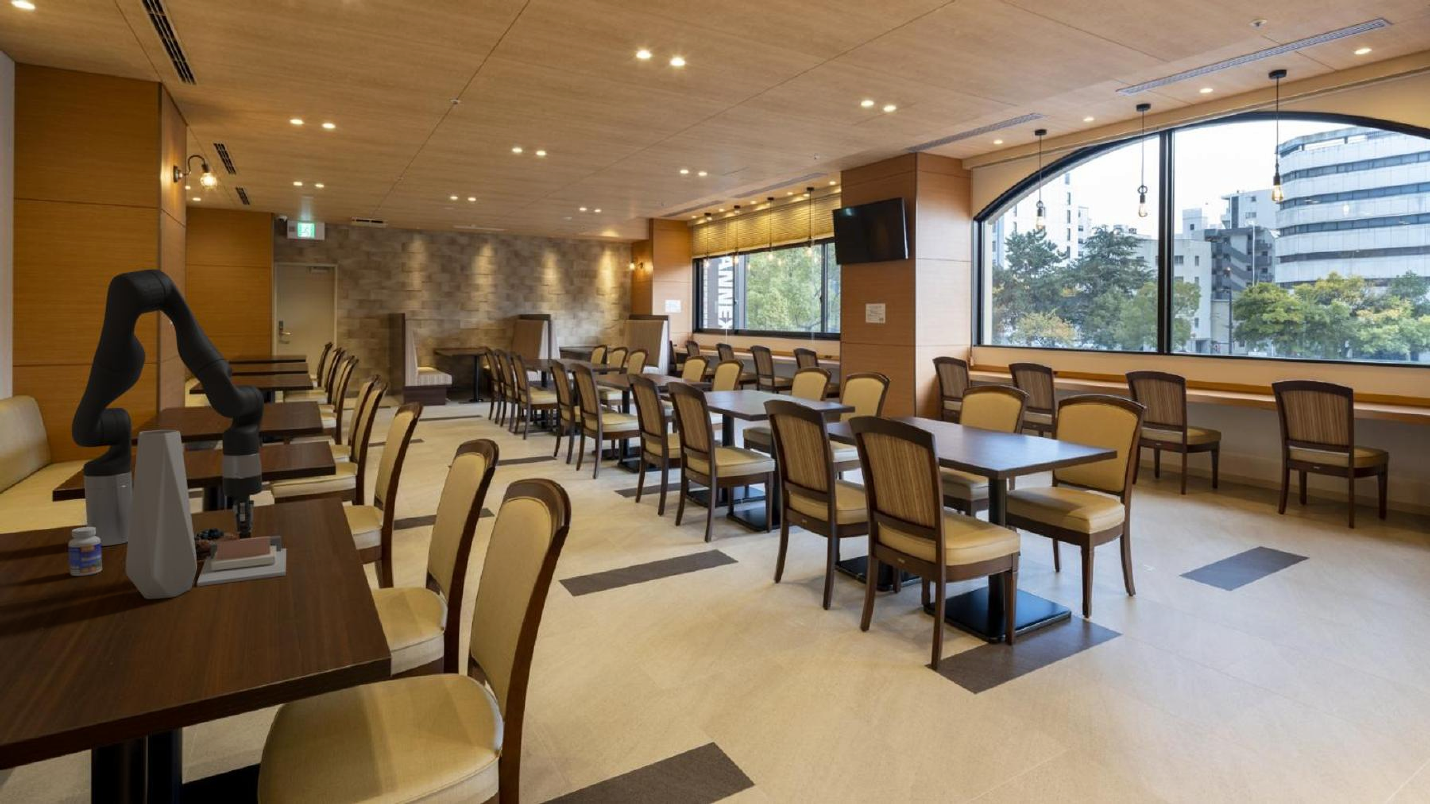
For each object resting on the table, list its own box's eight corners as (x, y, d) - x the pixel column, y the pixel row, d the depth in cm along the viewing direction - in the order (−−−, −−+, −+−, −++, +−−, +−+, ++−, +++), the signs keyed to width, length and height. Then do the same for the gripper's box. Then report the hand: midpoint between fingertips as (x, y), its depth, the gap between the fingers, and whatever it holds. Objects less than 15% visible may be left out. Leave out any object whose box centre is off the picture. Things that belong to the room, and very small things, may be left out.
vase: (218, 587, 158) (210, 429, 155) (162, 605, 147) (152, 437, 144) (176, 579, 162) (168, 426, 159) (118, 597, 151) (108, 433, 148)
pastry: (166, 557, 179) (164, 532, 179) (217, 544, 190) (216, 521, 189) (196, 563, 175) (194, 538, 174) (246, 549, 186) (245, 526, 185)
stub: (213, 564, 170) (212, 540, 169) (275, 557, 175) (274, 534, 175) (211, 570, 165) (210, 546, 165) (275, 563, 171) (274, 539, 171)
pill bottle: (84, 577, 163) (81, 533, 162) (63, 575, 164) (60, 531, 163) (108, 569, 168) (106, 526, 167) (88, 567, 169) (86, 524, 169)
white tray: (206, 559, 176) (206, 543, 176) (286, 551, 184) (285, 534, 184) (197, 586, 159) (196, 567, 158) (285, 575, 166) (284, 557, 166)
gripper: (224, 469, 177) (228, 542, 179) (220, 479, 166) (224, 557, 167) (262, 467, 181) (265, 538, 182) (260, 477, 169) (263, 553, 171)
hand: (245, 547), depth 175 cm, fingers closed
